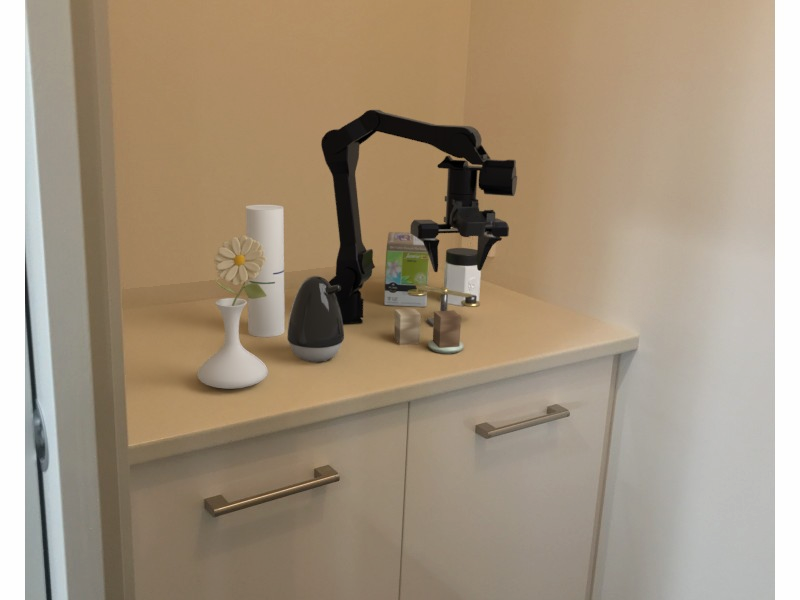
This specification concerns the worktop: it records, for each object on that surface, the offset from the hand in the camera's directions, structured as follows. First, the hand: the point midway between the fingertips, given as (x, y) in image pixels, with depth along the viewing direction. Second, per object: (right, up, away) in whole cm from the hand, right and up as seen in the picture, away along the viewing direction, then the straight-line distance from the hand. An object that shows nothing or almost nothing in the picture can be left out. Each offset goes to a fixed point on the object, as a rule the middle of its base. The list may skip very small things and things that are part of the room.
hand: (457, 271), depth 154 cm
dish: (-3, -15, -6) cm, 17 cm away
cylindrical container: (-38, -12, +1) cm, 40 cm away
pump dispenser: (-27, -16, -13) cm, 34 cm away
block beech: (-10, -14, -2) cm, 17 cm away
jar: (+3, -6, +27) cm, 28 cm away
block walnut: (-3, -14, -7) cm, 16 cm away
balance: (-2, -11, +10) cm, 15 cm away
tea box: (-10, -6, +29) cm, 31 cm away
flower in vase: (-38, -20, -26) cm, 51 cm away
